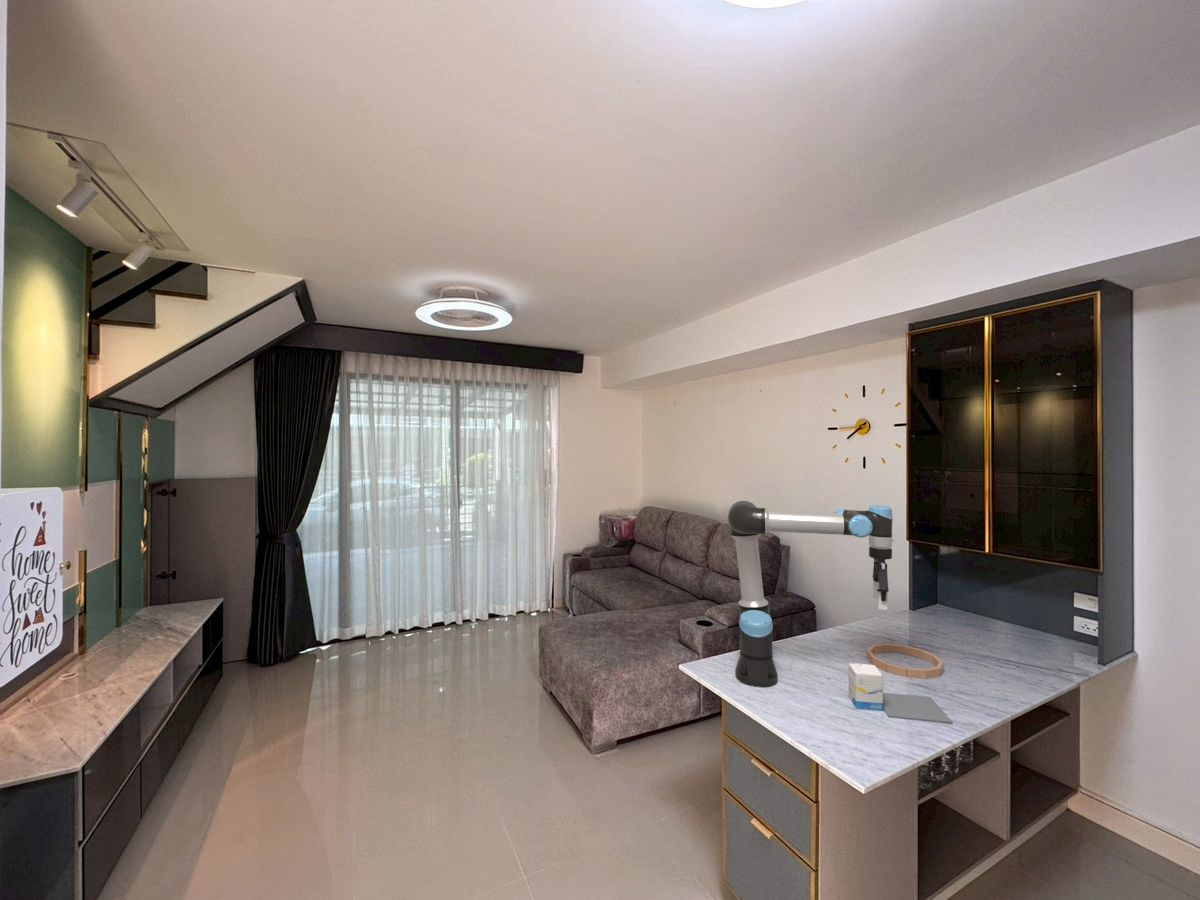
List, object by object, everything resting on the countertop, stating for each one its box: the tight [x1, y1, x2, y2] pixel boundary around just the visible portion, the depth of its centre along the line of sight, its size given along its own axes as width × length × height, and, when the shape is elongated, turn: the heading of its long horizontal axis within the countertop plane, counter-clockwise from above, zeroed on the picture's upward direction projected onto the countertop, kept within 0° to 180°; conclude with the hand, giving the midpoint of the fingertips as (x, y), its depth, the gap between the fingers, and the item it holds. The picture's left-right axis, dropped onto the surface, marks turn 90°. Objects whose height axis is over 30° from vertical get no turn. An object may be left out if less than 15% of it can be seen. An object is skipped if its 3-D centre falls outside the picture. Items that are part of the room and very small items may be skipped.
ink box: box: [848, 662, 884, 711], centre depth 166 cm, size 9×8×12 cm
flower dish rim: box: [866, 643, 944, 680], centre depth 196 cm, size 25×25×3 cm
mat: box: [883, 692, 954, 725], centre depth 163 cm, size 18×16×1 cm
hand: (880, 604), depth 185 cm, fingers open, 13 cm apart
